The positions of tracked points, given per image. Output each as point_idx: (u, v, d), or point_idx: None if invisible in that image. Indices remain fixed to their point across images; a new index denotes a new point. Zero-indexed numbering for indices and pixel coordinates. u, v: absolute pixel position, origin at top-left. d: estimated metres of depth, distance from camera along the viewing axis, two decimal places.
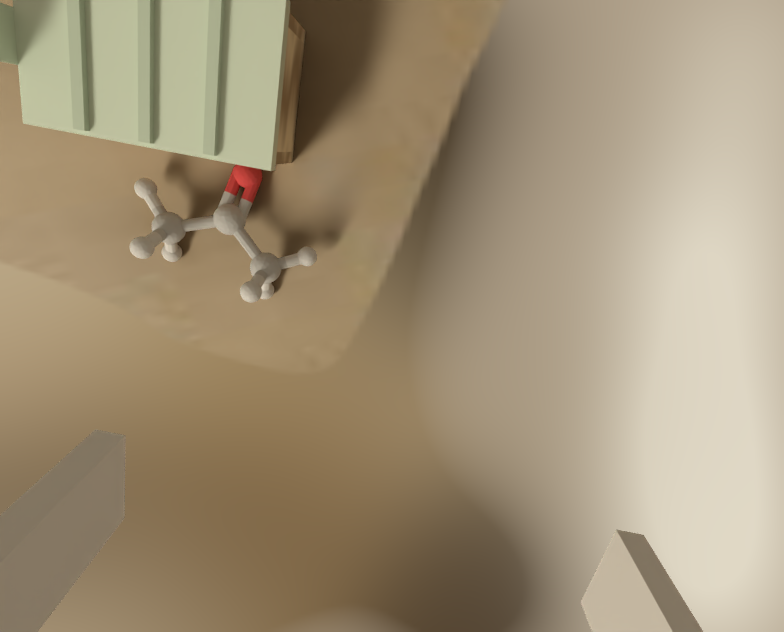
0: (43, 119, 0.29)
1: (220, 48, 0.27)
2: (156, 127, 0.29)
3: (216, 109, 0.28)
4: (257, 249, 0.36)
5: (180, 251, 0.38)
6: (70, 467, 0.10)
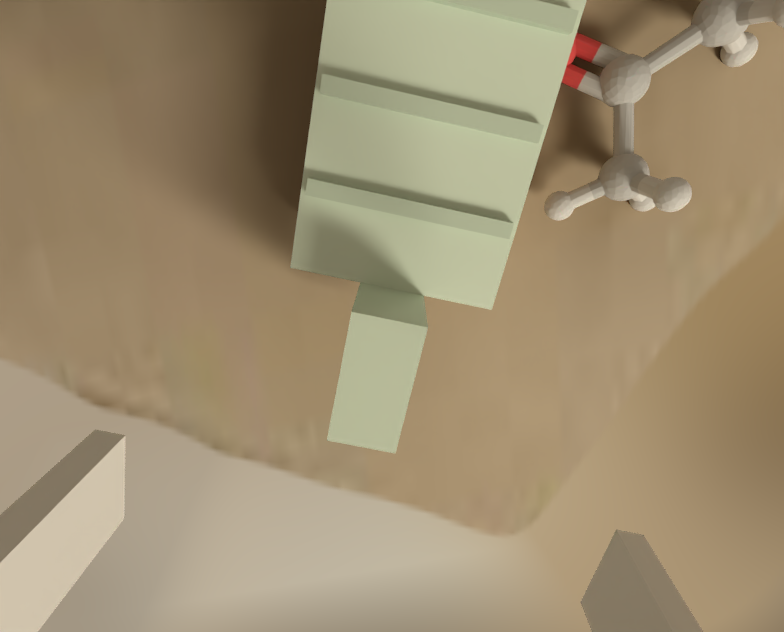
0: (489, 281, 0.21)
1: None
2: (518, 115, 0.19)
3: None
4: (686, 30, 0.21)
5: None
6: (70, 467, 0.10)
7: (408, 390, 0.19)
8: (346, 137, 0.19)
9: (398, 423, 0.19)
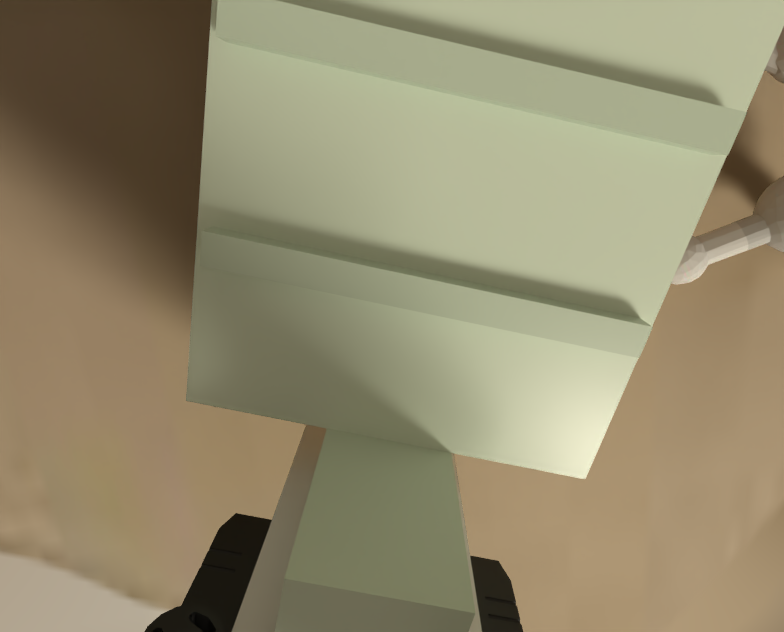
0: (585, 430, 0.11)
1: None
2: (679, 89, 0.08)
3: None
4: None
5: None
6: (310, 448, 0.13)
7: None
8: (287, 141, 0.09)
9: None
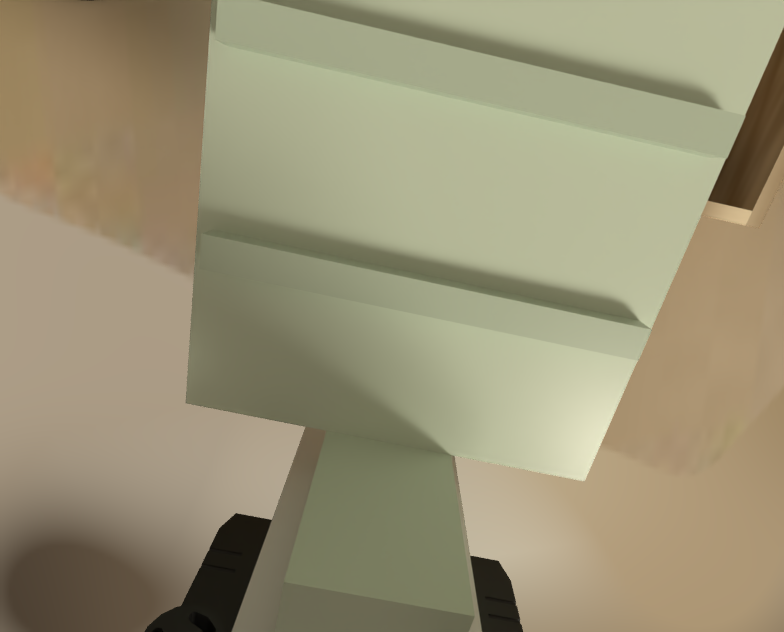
0: (584, 432, 0.11)
1: None
2: (678, 94, 0.08)
3: None
4: None
5: None
6: (310, 448, 0.13)
7: None
8: (287, 144, 0.09)
9: None
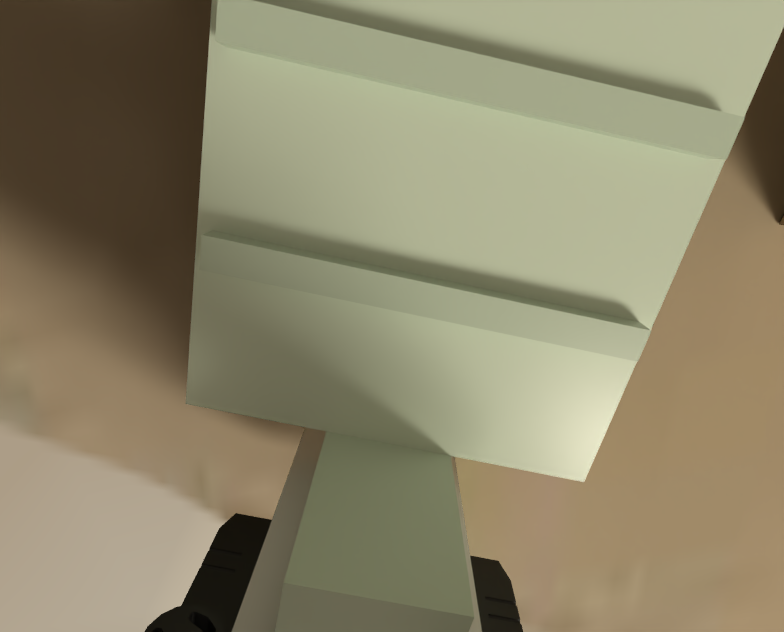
0: (584, 433, 0.11)
1: None
2: (677, 94, 0.08)
3: None
4: None
5: None
6: (310, 448, 0.13)
7: None
8: (286, 145, 0.09)
9: None
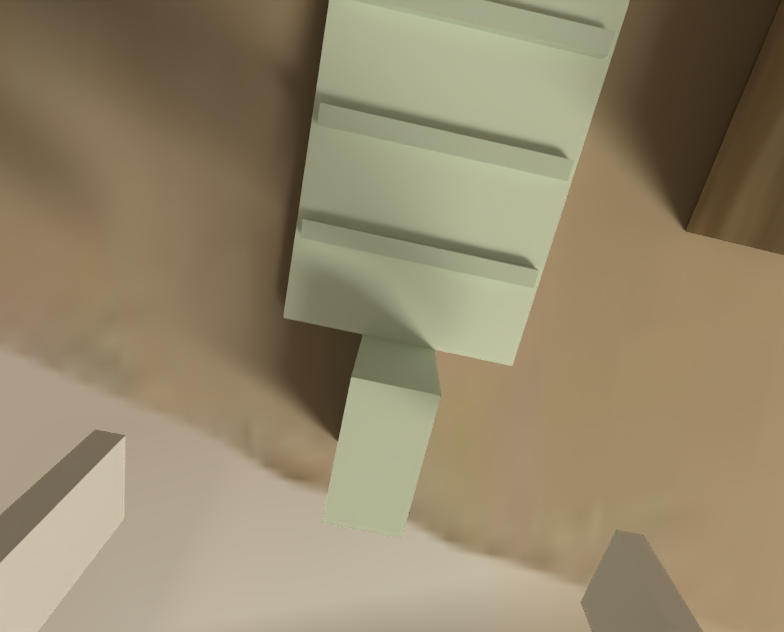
0: (510, 334, 0.19)
1: None
2: (544, 148, 0.16)
3: (534, 13, 0.15)
4: None
5: None
6: (71, 467, 0.10)
7: (417, 467, 0.16)
8: (347, 173, 0.17)
9: (405, 504, 0.16)
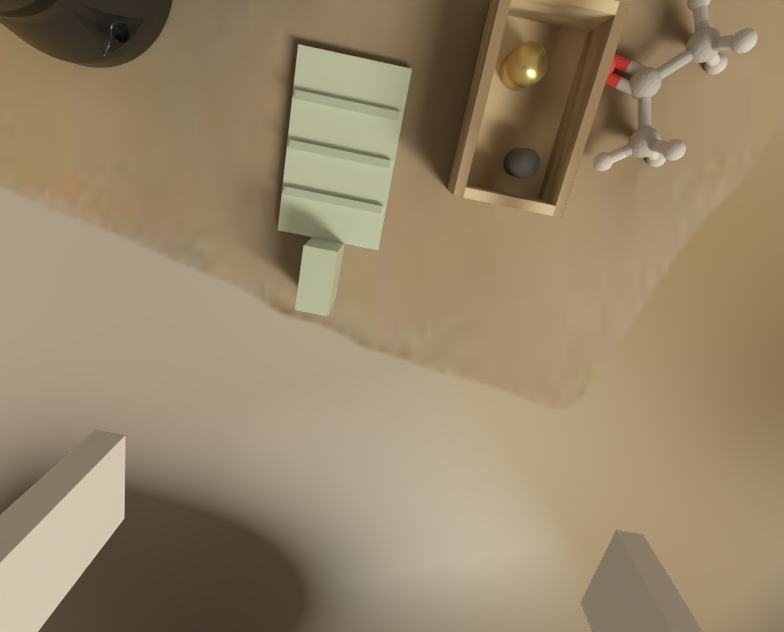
0: (375, 235, 0.43)
1: (330, 97, 0.39)
2: (380, 156, 0.41)
3: (369, 105, 0.39)
4: (682, 53, 0.36)
5: None
6: (70, 467, 0.10)
7: (331, 283, 0.41)
8: (302, 167, 0.41)
9: (328, 300, 0.41)
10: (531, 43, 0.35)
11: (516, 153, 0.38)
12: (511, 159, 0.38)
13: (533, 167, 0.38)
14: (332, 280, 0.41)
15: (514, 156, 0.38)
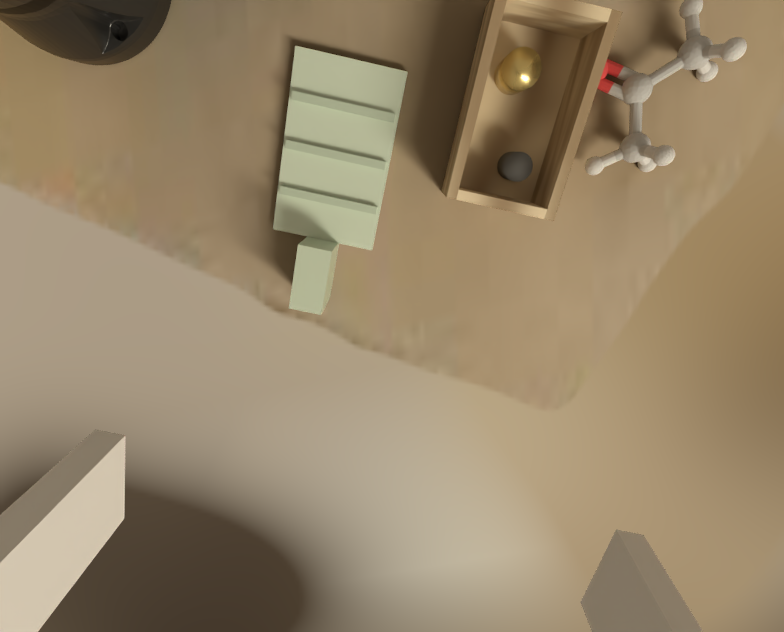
0: (369, 236, 0.44)
1: (327, 98, 0.39)
2: (375, 157, 0.41)
3: (364, 107, 0.39)
4: (674, 60, 0.37)
5: None
6: (70, 467, 0.10)
7: (325, 282, 0.41)
8: (298, 167, 0.42)
9: (321, 299, 0.42)
10: (525, 48, 0.35)
11: (509, 156, 0.38)
12: (504, 162, 0.39)
13: (526, 171, 0.39)
14: (326, 279, 0.41)
15: (507, 159, 0.38)
